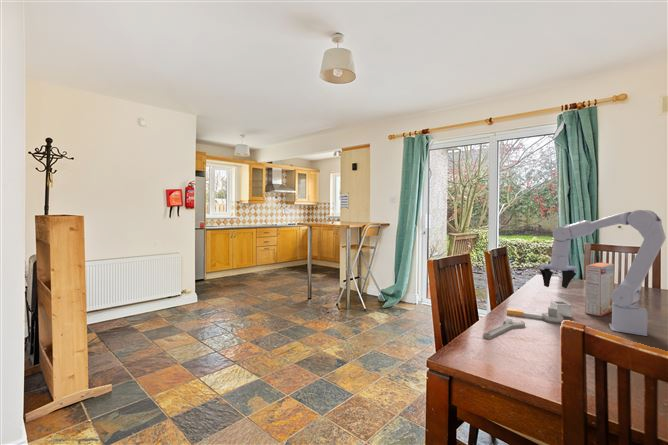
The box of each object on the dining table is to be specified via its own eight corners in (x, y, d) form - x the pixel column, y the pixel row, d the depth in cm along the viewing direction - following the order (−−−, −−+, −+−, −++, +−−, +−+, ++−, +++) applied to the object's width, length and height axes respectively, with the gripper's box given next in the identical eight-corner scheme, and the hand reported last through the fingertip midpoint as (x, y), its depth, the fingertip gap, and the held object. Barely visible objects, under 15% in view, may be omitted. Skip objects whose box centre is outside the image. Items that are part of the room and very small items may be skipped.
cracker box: (596, 308, 147) (598, 261, 146) (613, 311, 142) (615, 263, 141) (583, 313, 140) (584, 264, 139) (600, 317, 135) (602, 266, 134)
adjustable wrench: (489, 341, 110) (489, 335, 110) (472, 335, 116) (472, 330, 116) (527, 326, 124) (527, 322, 124) (510, 322, 129) (510, 317, 129)
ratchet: (562, 319, 131) (563, 307, 131) (563, 324, 125) (563, 311, 125) (507, 311, 142) (508, 300, 141) (506, 315, 136) (506, 303, 136)
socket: (563, 313, 140) (564, 301, 140) (571, 316, 134) (571, 304, 134) (550, 312, 141) (550, 300, 140) (556, 316, 135) (557, 304, 135)
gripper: (570, 254, 140) (565, 285, 142) (536, 252, 140) (532, 283, 142) (582, 258, 133) (577, 290, 135) (547, 255, 133) (542, 288, 135)
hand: (555, 286), depth 138 cm, fingers open, 7 cm apart
